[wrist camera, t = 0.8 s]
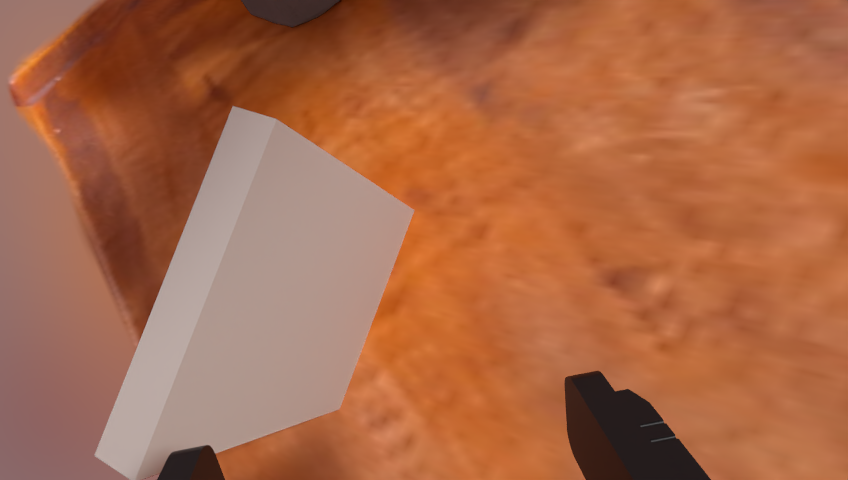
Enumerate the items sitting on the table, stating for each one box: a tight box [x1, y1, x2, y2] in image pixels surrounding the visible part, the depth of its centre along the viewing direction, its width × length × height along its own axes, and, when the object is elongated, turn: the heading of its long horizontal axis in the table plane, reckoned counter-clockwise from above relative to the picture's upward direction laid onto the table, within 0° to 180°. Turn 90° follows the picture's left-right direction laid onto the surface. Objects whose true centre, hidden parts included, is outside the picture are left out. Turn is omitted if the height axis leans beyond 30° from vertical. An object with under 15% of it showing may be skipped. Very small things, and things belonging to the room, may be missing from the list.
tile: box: [95, 106, 414, 480], centre depth 23 cm, size 12×2×14 cm, turn 159°
